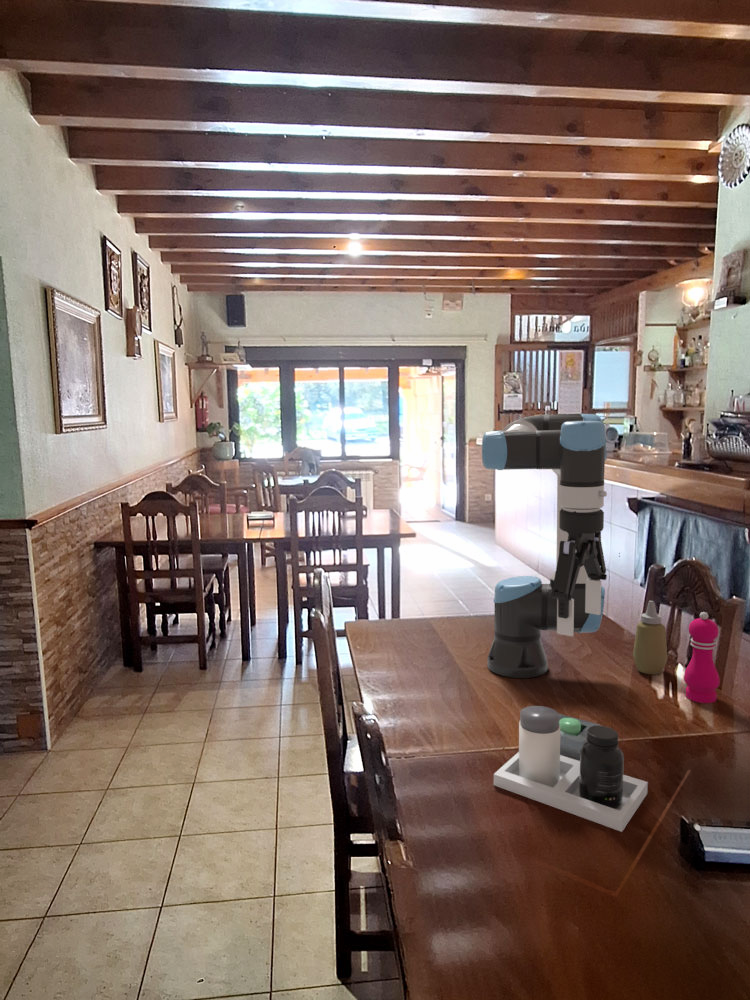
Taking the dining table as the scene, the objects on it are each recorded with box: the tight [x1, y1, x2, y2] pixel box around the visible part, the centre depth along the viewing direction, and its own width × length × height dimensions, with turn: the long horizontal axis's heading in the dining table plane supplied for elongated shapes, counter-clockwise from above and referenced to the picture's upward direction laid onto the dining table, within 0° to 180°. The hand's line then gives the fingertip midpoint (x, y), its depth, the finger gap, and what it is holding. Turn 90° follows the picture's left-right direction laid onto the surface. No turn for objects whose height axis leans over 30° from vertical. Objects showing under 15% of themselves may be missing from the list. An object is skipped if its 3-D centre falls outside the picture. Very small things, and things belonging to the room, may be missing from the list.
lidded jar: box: [518, 705, 561, 788], centre depth 115 cm, size 7×7×12 cm
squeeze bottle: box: [632, 600, 669, 675], centre depth 164 cm, size 8×8×18 cm
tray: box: [493, 751, 649, 833], centre depth 112 cm, size 22×13×2 cm, turn 52°
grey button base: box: [559, 713, 602, 761], centre depth 128 cm, size 9×9×4 cm
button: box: [559, 717, 581, 736], centre depth 127 cm, size 4×4×3 cm
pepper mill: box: [683, 611, 721, 704], centre depth 148 cm, size 7×7×20 cm
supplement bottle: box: [579, 725, 625, 809], centre depth 108 cm, size 7×7×12 cm
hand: (579, 623), depth 120 cm, fingers open, 13 cm apart
